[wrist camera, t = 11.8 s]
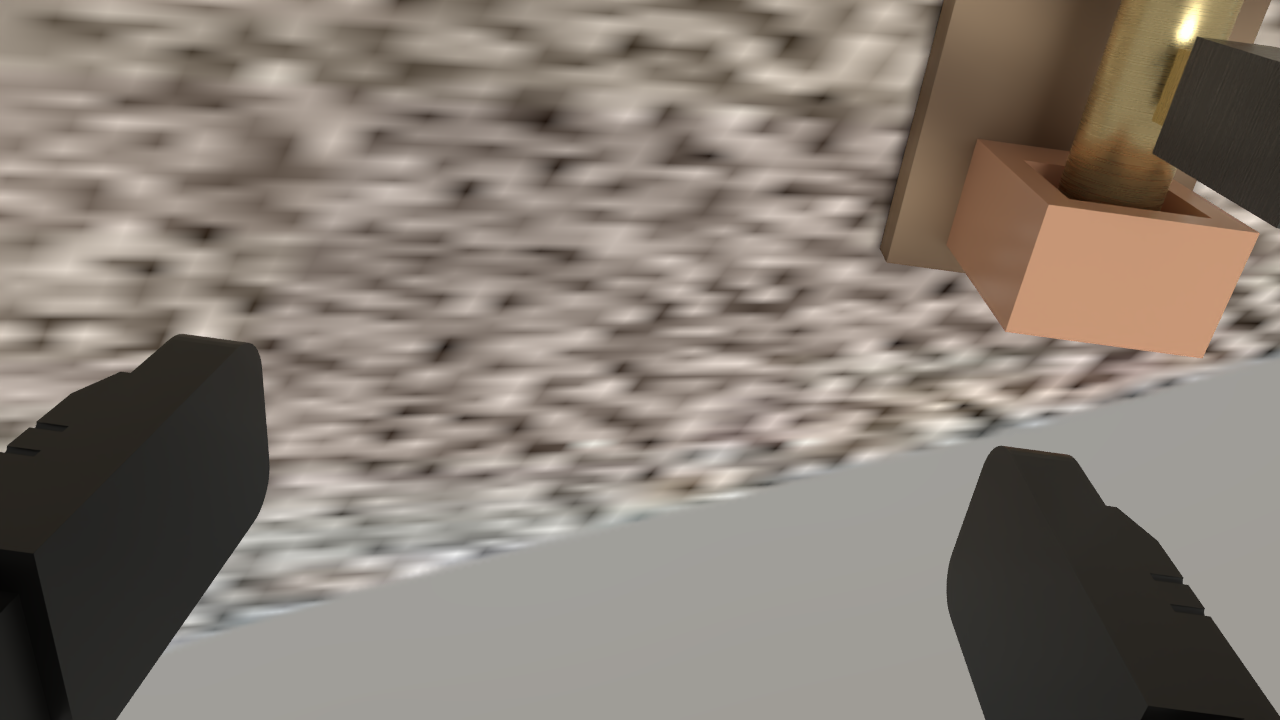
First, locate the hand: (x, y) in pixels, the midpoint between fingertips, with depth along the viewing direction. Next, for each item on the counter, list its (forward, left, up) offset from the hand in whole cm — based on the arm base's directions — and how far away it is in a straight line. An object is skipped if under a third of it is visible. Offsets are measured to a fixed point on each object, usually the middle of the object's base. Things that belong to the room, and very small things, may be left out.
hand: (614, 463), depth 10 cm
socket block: (+3, +14, -25) cm, 28 cm away
